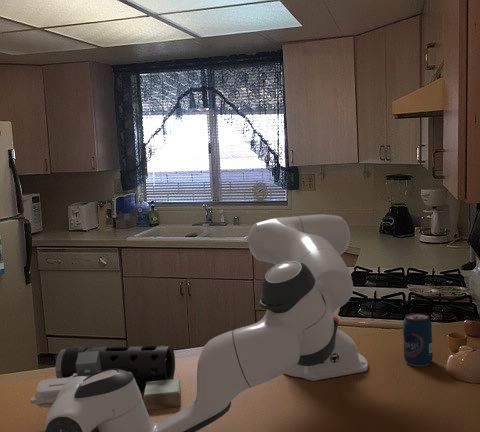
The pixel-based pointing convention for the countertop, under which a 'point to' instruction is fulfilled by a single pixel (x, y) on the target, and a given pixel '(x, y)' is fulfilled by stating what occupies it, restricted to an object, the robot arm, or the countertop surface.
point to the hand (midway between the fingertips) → (90, 375)
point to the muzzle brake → (124, 361)
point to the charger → (88, 363)
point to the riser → (162, 394)
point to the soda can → (417, 339)
